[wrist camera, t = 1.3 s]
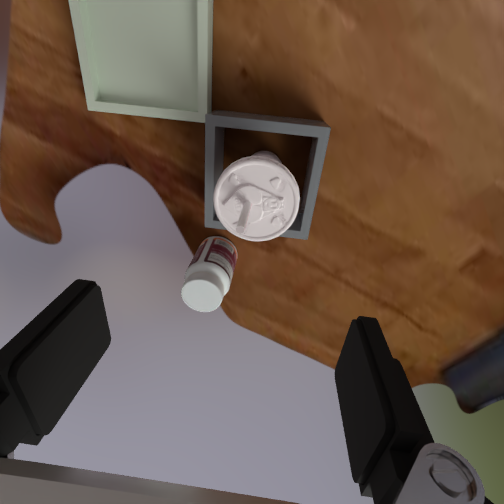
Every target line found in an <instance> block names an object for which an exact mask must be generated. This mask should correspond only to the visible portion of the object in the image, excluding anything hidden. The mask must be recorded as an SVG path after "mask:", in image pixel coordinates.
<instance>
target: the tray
mask: <svg viewBox="0 0 504 504" xmlns="http://www.w3.org/2000/svg"><path fill="white" fill-rule="evenodd" d="M69 6H70V12H71V17H72V23H73V28H74V34H75V39H76V45H77V51H78V56H79V62H80V67H81V73H82V78H83V84H84V90H85V95H86V101H87V106H88V110H91V111H100V112H110V113H119V114H128V115H137V116H146V117H155V118H165V119H174V120H183V121H192V122H201V123H205V114H207V113H210V112H211V109H212V43H213V0H69Z"/></svg>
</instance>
